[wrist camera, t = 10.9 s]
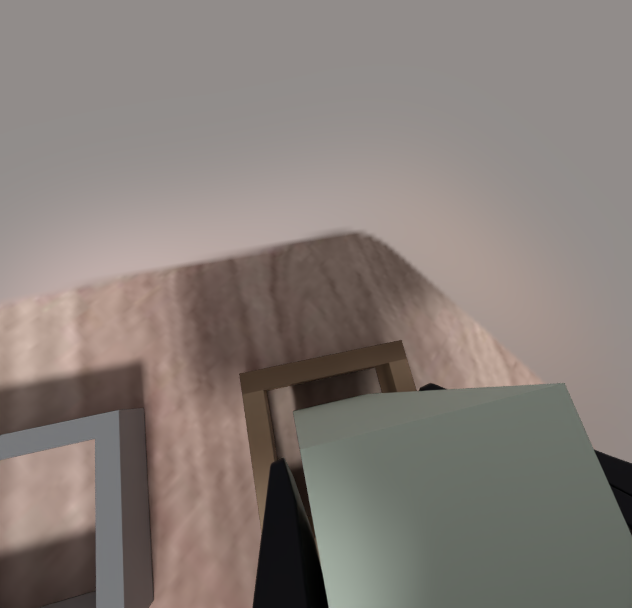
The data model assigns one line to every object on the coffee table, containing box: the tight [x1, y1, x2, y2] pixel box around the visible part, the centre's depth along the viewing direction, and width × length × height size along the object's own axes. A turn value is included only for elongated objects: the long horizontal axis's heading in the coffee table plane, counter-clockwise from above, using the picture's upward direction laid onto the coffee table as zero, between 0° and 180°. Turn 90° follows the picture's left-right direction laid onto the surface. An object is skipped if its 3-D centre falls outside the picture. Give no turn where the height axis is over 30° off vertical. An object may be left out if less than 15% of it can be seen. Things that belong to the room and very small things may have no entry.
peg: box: [293, 383, 632, 608], centre depth 9 cm, size 4×4×12 cm
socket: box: [0, 408, 153, 608], centre depth 13 cm, size 8×8×2 cm
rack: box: [239, 340, 416, 565], centre depth 15 cm, size 8×8×2 cm
